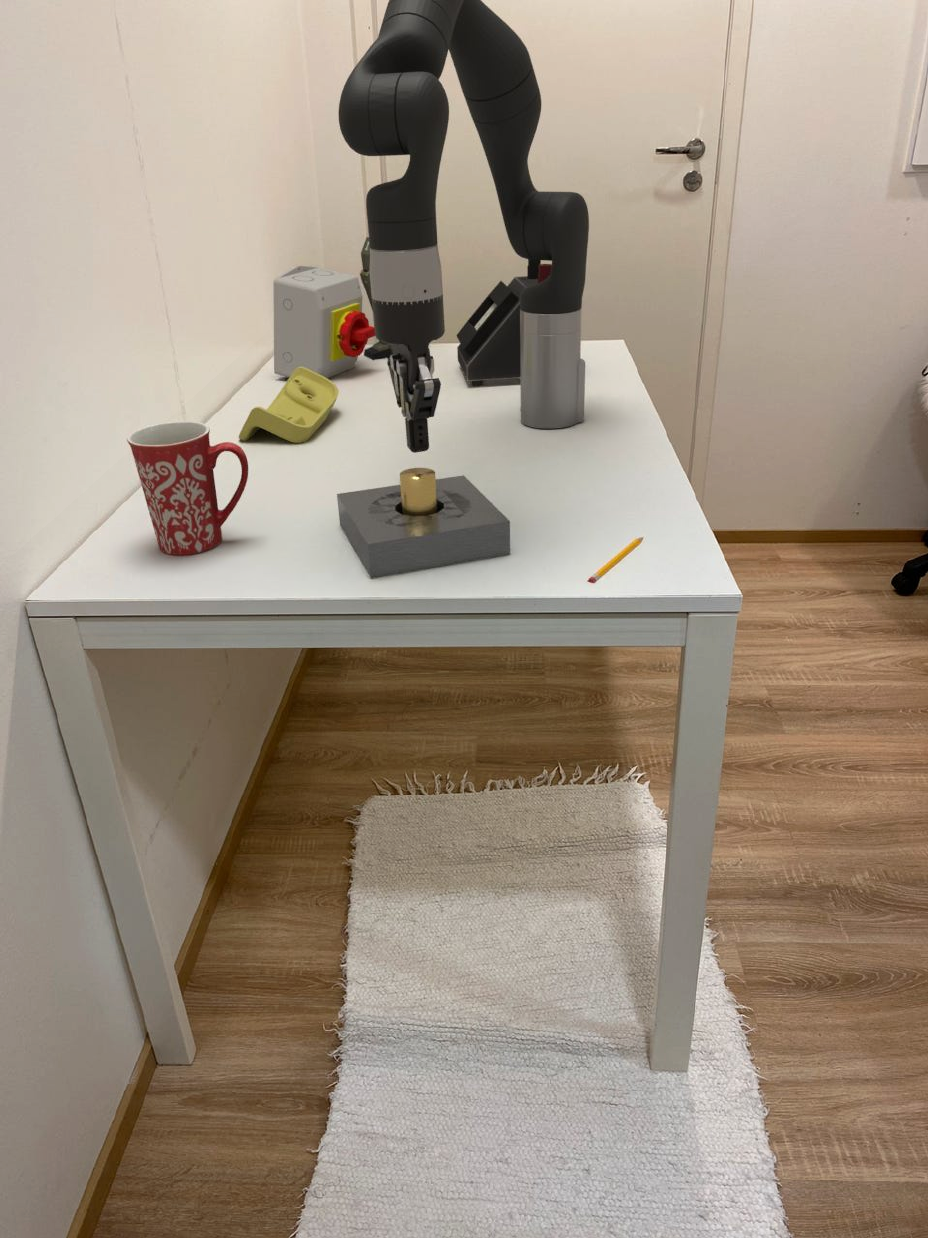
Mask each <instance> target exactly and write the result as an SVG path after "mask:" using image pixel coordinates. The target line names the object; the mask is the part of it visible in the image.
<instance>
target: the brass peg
mask: <svg viewBox="0 0 928 1238" xmlns="http://www.w3.org/2000/svg"><path fill="white" fill-rule="evenodd" d="M399 481H400V484H399V485H401V499H402V514H403V515H407V516H428V515H431V514H435V513H437V497H436V472H435V470H433V469H431V468H427V467H411V468H407V469H404V470H402V471H401V472H399Z"/></svg>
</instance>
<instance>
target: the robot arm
mask: <svg viewBox="0 0 928 1238" xmlns="http://www.w3.org/2000/svg"><path fill="white" fill-rule="evenodd" d="M380 25H381V26H380V29H379V31H378V32H379V33H378V36H377V38H376V40H375V41H374V42H373V43H372V44H371V45H370V46H369V48H368V49H367V50H366V52H365V53H364V55H363V56H362V57H361V58H360V59H359V60H358V62H357V64H356V65H355V67H354V68H353V69H352V71H351V72H350V73H349V76H348V78H347V79H346V81H345V84H344V86H343V87H342V91H341V94H340V98H339V99H340V100H339V103H338V124H339V130H340V132H341V135H342V137H343V140H344V142H345V143H346V144H347V145H348V147H349V148H350V149H351V150H353V152H355V153H357V154H358V155H361V156H367V157H387V156H388V157H391V156H409V161H408V165H407V169H406V170H405V173H404V174H403V176H402V177H400V178H397V179H394V180H390V181H386V182H383V183H379V184H377V185H375V186H374V185H373V187H371V188H370V189H369V190H368V191H367V193H366V194H367V195H366V199H365V201H366V202H365V207H366V208H365V209H366V210H365V211H366V219H367V230H368V237H369V244H370V283H371V294H372V306H373V311H372V313H373V314H372V315H373V324H374V325H373V327H374V328H375V336H374V337H375V338H376V339H377V341H378V342H379V341H381V342H383V343H387V344H393V354H394V355H391V356H390V358H387V361H386V364H387V366H388V371H389V374H390V378H391V382H392V383H391V384H392V387H393V390H394V396H395V398H396V404H397V406H398V408H401V414H402V417H403V418H404V421H405V423H404V424H405V433H406V434H405V435H406V436H405V437H406V447H407V448H408V449H409V450H410V451H411V452H412V453H421V452H426V451H428V450H429V448H430V441H429V440H430V437H429V424H428V423H429V422H428V419H430V418H434V417H435V414H436V409H437V405H438V400H439V398H440V397H439V396H440V392H441V386H442V383H441V381H440V378H439V377H437V378H433V377H434V376H433V375H434V373H435V359H434V356H433V355H431V351H430V347H429V346H430V344H431V343H432V342H433V341H438V340H439V339H441V338H442V337H443V336H444V334H445V331H446V330H445V329H446V328H445V312H444V311H445V310H444V292H443V290H444V289H443V275H442V274H443V273H442V263H441V258H440V253H439V246H438V228H437V210H436V209H437V207H436V206H437V205H436V204H437V203H436V202H437V190H438V179H439V173H440V166H441V161H442V156H443V152H444V146H445V142H446V139H447V133H448V126H449V120H450V118H449V117H450V105H449V103H450V102H449V98H448V95H447V92H446V90H445V88H444V85H443V84H442V83H441V81H440V78H441V76H442V74H443V72H444V69H445V65H446V60H447V57H448V53H449V55H450V57H451V61H452V63H453V66H454V69H455V72H456V75H457V79H458V82H459V85H460V88H461V92H462V94H463V97H464V100H465V102H466V105H467V108H468V111H469V114H470V117H471V119H472V123H474V127H475V129H476V132H477V134H478V138H479V140H480V143H481V145H482V147H483V148H482V149H483V151H484V154H485V157H486V159H487V160H486V161H487V163H488V166H489V170H490V174H491V176H492V179H493V183H494V186H495V191H496V195H497V199H498V203H499V207H500V211H501V216H502V220H503V224H504V228H505V232H506V235H507V238H508V240H509V243H510V245H511V247H512V250H513V251H514V252H515V254H516V255H517V256H519V257H520V258H521V259H525V260H528V259H530V260H541V261H547V262H548V261H551V265H552V266H551V272H550V275H549V277H548V278H546V279H545V280H544V281H542V282H540V283H537V284H534V285H531V286H528V287H526V288H524V289H523V290H522V292H521V294H520V378H519V380H520V408H519V409H520V422H521V423H522V424H523V425H524V426H527V427H529V428H530V427H532V428H534V429H536V428H537V429H547V430H548V429H562V428H568V427H571V426H574V425H576V424H578V423H583V422H584V421H585V397H586V396H585V393H586V392H585V389H586V385H585V384H586V361H585V360H584V359H583V358H581V349H582V348H581V345H582V344H581V343H582V342H581V341H582V307H583V306H582V305H583V304H582V303H583V296H584V295H583V294H584V292H585V291H584V290H585V284H586V274H587V273H586V272H587V270H586V269H587V256H588V248H589V247H588V244H589V232H590V231H589V230H590V217H589V215H590V214H589V209H588V204H587V202H586V200H585V198H584V197H583V195H582V194H581V193H578V192H574V191H538V190H537V188H536V187H535V185H534V184H533V181H532V178H531V175H530V174H531V173H530V170H529V164H528V163H529V161H528V159H529V155H530V151H531V147H532V144H533V142H534V141H533V140H535V139H534V138H535V135H536V133H537V128H538V125H539V123H540V122H539V121H540V117H541V115H542V114H541V112H542V95H541V92H540V91H541V90H540V87H539V84H538V80H537V76H536V73H535V68H534V66H533V63H532V59H531V55H530V53H529V51H528V48H527V47H526V45H525V43H524V42H523V41H522V39H521V37H520V36H519V35H518V34H517V33H516V31H514V29H512V28H511V27H510V26H509V24H507V23H506V22H505V21H504V20H503V18H501V17H500V16H499V15H497V14H496V13H495V12H494V10H492V9H491V8H490V7H489V6H488V5H486V3H484V2H483V1H482V0H388V3H387V6H386V8H385V11H384V16H383V19H382V21H381V24H380Z"/></svg>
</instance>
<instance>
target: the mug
mask: <svg viewBox="0 0 928 1238" xmlns="http://www.w3.org/2000/svg"><path fill="white" fill-rule="evenodd" d="M210 433H211V429H210V427H209V425H207V424H205V423H203V422H199V421H191V420H182V421H181V420H180V421H179V420H178V421H167V422H161V423H157V424H152V425H151V424H150V425H148V426H147V425H146V426H144V427H142V428H139V429H136V430H134V431H132V432H131V433H129V434H128V435H127V437H126V441H127V443H128V445H129V446H130V449H131V453H132V456H133V460H134V463H135V466H136V470H137V471H136V472H137V474H138V477H139V481H140V484H141V487H142V491H143V496H144V498H145V502H146V505H147V510H148V513H149V517H150V519H151V523H152V528H153V530H154V535H155V538H156V542H157V545H158V548H159V550H160V551H161V552H162V553H164V554H167V555H172V556H187V555H188V556H189V555H195V554H199V553H203V552H206V551H209V550H211V549H213V548H215V547H216V546H218V545H219V544H220V543H221V541H222V539H223V537H222V536H223V534H222V533H223V532H222V525H224V523H225V522H226V521H227V519H228V518H229V516H230V515H231V513H233V511H234V509H235V508H236V506H237V504H238V502H239V501H240V499H241V498H242V495H243V494H244V491H245V488H246V486H247V482H248V480H249V479H248V478H249V462H248V459H247V455H246V453H245V451H244V450H243V447H241V446H240V445H238V444H237V443H234V442H232V441H231V442H230V441H226V442H225V441H224V442H220V443H217V444H215V445H212V446H211V445H210V444H211V443H210ZM225 452H230V453H232V454H234V455H235V456H236V457H237V458H238V460H239V463H240V466H241V476H240V480H239V483H238V486H237V488H236V491H234V493H233V495H232V497H231V499H230V500H229V502H228V503H227V504H226V506H225V507H224V508H223V509H219V505H218V498H217V497H218V496H217V490H216V482H215V474H214V469H215V468H216V467H217V466H216V465H217V461H218V457H220V455H221V454H222V453H225Z"/></svg>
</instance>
